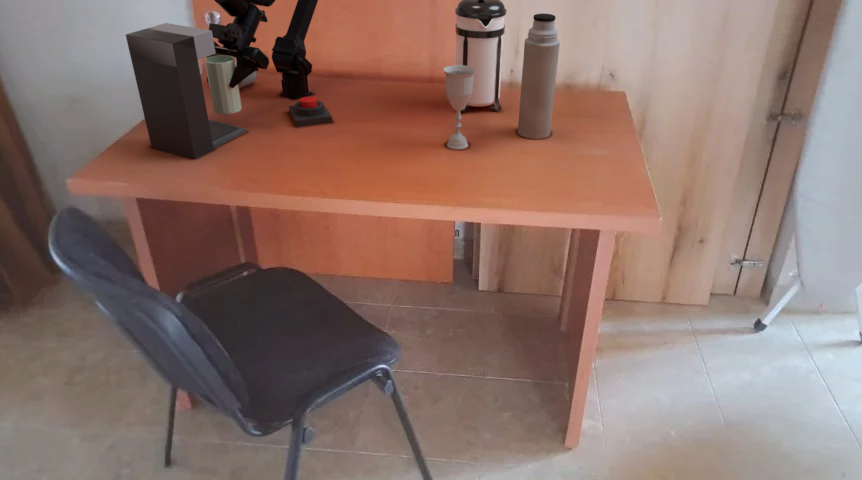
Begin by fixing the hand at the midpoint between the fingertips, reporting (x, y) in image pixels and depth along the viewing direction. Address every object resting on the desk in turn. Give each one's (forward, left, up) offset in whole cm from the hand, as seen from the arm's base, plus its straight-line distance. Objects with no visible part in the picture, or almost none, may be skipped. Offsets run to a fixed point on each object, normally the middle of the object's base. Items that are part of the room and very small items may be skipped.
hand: (219, 84), depth 169 cm
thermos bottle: (-52, +56, -11) cm, 77 cm away
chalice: (-33, +48, -11) cm, 60 cm away
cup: (-1, 0, -7) cm, 7 cm away
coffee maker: (+9, +2, -11) cm, 14 cm away
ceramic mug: (-19, -26, -11) cm, 34 cm away
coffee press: (-57, +32, -11) cm, 66 cm away
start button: (-19, +9, -8) cm, 23 cm away
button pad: (-19, +9, -11) cm, 24 cm away
